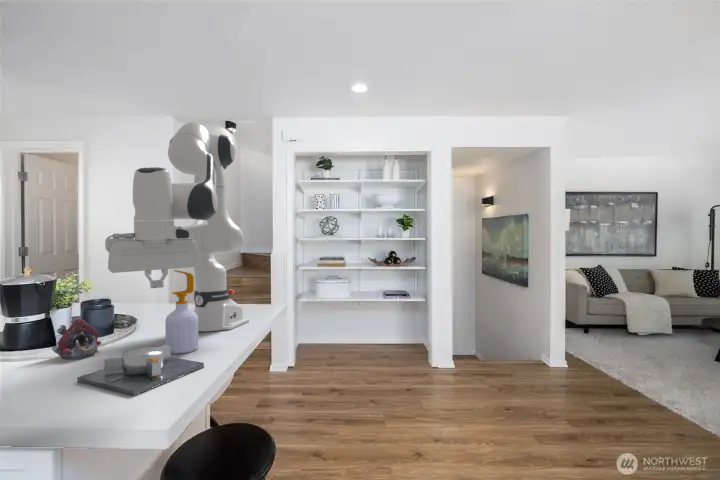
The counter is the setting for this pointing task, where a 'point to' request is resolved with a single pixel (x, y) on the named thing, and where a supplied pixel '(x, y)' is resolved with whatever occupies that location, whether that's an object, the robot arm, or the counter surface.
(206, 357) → the counter surface
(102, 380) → the base plate
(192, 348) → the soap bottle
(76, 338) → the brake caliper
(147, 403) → the counter surface
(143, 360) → the grey disc housing
